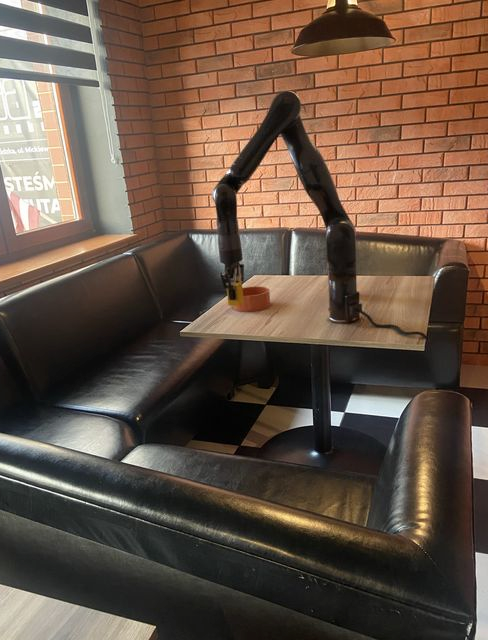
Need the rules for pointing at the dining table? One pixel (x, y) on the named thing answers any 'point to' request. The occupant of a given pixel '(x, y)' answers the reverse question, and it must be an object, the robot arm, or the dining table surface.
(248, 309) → the crock
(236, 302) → the sponge
